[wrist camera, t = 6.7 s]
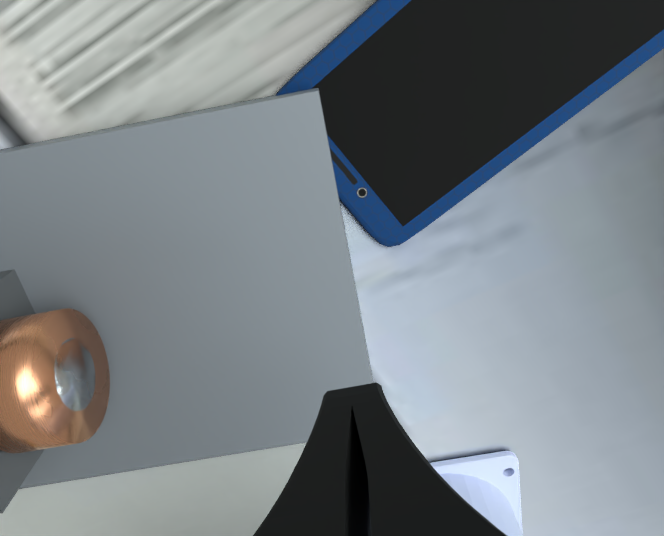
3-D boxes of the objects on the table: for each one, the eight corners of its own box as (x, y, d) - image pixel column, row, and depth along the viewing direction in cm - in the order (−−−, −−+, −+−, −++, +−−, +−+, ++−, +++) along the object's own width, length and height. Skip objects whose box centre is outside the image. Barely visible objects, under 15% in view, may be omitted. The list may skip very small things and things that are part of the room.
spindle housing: (377, 407, 24) (399, 543, 17) (-120, 489, 25) (-271, 645, 19) (318, 86, 18) (318, 113, 12) (-319, 212, 19) (-633, 299, 13)
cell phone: (711, 4, 18) (727, 2, 17) (385, 249, 21) (387, 257, 20) (610, -212, 15) (624, -224, 15) (261, 104, 19) (259, 107, 18)
